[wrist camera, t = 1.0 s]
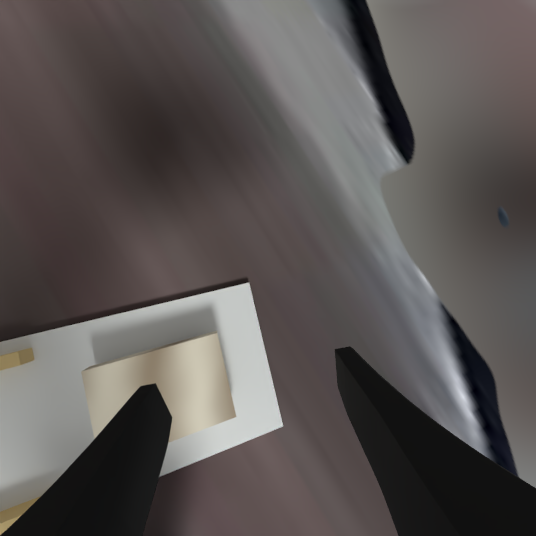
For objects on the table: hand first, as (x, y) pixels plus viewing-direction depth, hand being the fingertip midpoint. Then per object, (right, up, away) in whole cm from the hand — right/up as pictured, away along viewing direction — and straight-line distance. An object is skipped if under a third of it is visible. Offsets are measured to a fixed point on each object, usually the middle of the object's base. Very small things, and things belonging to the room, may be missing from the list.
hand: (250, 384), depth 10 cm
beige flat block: (-8, -6, +12) cm, 15 cm away
